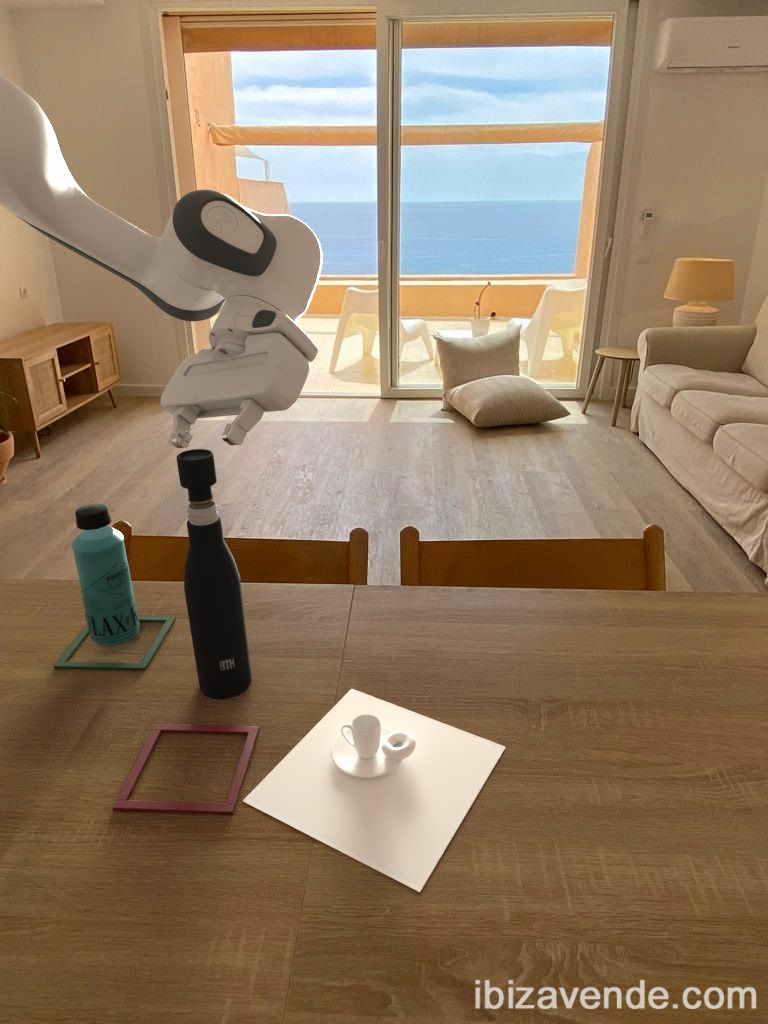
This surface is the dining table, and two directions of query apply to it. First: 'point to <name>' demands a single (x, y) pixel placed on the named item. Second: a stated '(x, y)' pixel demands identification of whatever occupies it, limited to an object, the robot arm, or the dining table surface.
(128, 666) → the green square
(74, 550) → the beverage bottle
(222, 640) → the insulated water bottle
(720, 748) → the dining table surface
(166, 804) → the red square
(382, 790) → the teacup and saucer
